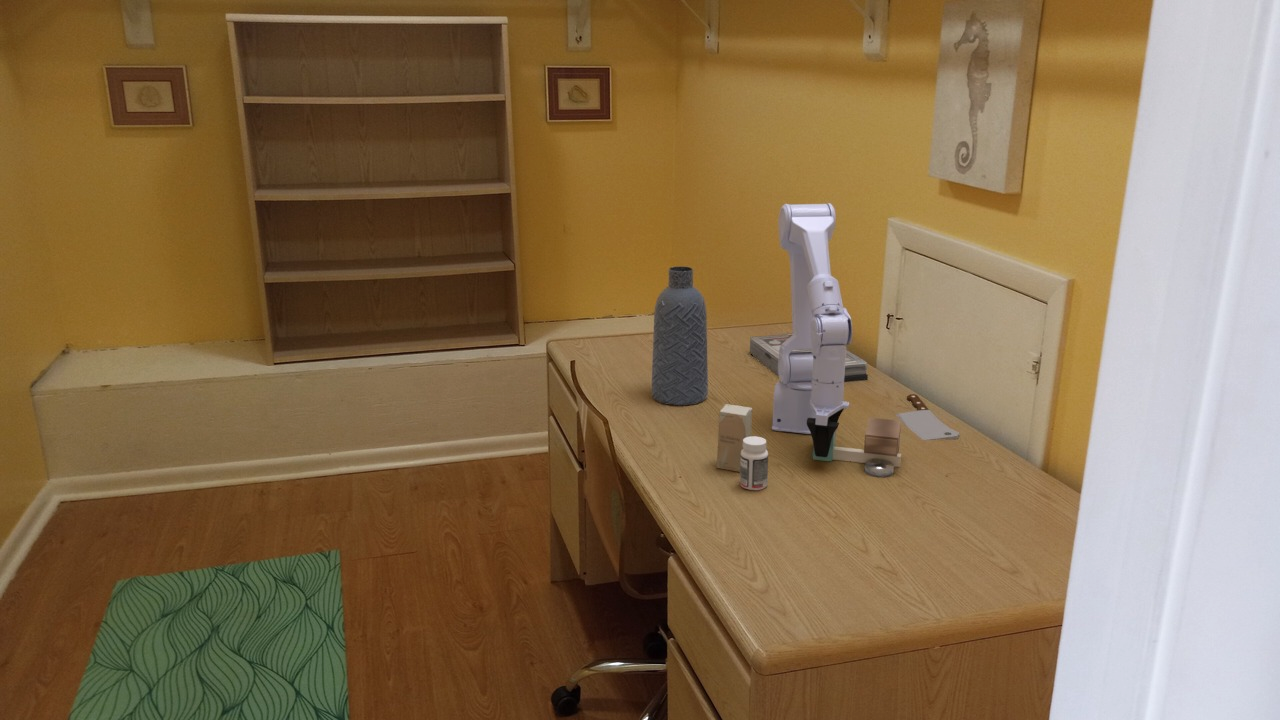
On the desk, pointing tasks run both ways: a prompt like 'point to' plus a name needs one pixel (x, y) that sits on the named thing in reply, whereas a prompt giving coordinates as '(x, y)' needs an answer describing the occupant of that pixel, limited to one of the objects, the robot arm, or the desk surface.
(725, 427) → the box
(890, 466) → the disc
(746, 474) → the pill bottle
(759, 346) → the board game box
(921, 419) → the kitchen cleaver
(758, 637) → the desk surface
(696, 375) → the vase
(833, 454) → the teal toy mallet
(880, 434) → the cabinet
